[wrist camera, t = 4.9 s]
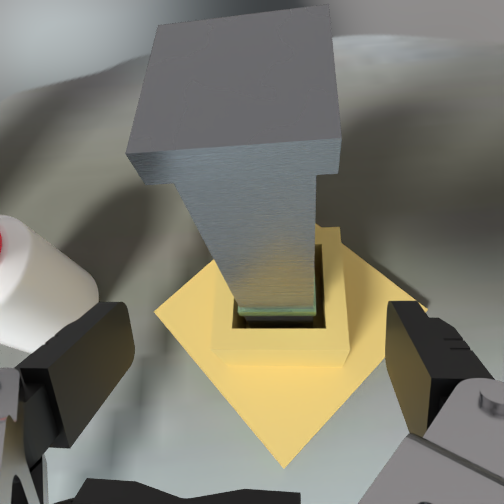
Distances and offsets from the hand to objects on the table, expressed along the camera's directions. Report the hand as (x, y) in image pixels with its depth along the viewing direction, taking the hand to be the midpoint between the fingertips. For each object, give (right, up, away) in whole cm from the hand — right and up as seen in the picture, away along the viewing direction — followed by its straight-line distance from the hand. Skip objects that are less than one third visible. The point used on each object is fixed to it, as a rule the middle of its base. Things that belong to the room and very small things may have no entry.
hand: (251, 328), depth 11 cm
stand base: (+2, -2, +16) cm, 17 cm away
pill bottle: (-16, -2, +20) cm, 26 cm away
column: (+2, -2, +15) cm, 15 cm away
